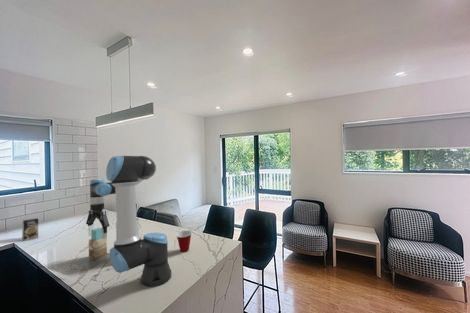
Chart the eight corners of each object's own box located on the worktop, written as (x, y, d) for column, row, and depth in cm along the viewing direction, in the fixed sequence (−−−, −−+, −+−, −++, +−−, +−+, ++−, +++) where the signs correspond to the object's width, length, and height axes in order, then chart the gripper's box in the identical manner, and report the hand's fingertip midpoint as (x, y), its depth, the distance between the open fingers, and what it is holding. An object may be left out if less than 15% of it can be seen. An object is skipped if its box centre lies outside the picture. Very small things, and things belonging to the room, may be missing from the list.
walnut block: (106, 256, 137) (106, 246, 137) (95, 260, 131) (95, 251, 131) (100, 254, 140) (99, 245, 140) (88, 258, 134) (88, 249, 134)
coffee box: (23, 241, 173) (23, 221, 173) (22, 239, 177) (22, 220, 177) (38, 238, 180) (38, 218, 180) (37, 236, 184) (36, 217, 184)
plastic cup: (173, 251, 145) (172, 233, 146) (186, 246, 154) (185, 229, 154) (182, 255, 138) (181, 236, 139) (195, 250, 146) (195, 232, 147)
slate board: (119, 258, 137) (119, 255, 137) (90, 271, 121) (90, 268, 121) (101, 253, 145) (101, 251, 145) (72, 265, 128) (72, 263, 128)
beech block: (106, 246, 137) (106, 237, 137) (95, 251, 131) (95, 241, 131) (99, 245, 140) (99, 236, 140) (88, 249, 134) (88, 239, 134)
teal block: (104, 237, 137) (104, 228, 137) (96, 240, 132) (96, 230, 132) (99, 236, 139) (99, 227, 139) (91, 239, 134) (91, 229, 134)
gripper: (115, 203, 134) (116, 237, 134) (91, 201, 145) (91, 232, 144) (103, 205, 127) (104, 241, 127) (79, 203, 138) (79, 236, 137)
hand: (97, 236), depth 136 cm, fingers open, 13 cm apart
